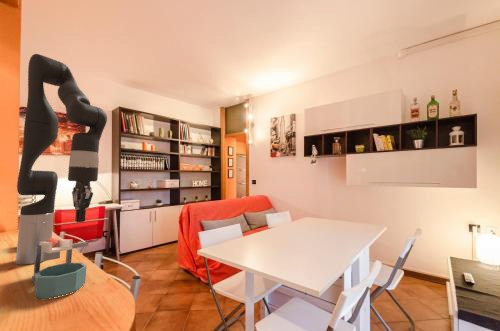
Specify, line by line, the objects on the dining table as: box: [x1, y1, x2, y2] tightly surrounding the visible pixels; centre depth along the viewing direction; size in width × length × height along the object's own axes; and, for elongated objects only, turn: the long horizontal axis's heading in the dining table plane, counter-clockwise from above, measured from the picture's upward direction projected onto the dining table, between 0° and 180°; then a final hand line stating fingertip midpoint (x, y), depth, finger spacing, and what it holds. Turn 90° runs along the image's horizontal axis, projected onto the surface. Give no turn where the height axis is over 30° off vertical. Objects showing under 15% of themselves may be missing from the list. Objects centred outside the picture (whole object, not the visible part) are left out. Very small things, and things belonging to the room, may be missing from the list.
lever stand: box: [31, 240, 74, 286], centre depth 69 cm, size 5×9×10 cm, turn 141°
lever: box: [39, 238, 89, 262], centre depth 70 cm, size 15×9×6 cm, turn 51°
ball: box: [46, 237, 58, 248], centre depth 72 cm, size 3×3×3 cm
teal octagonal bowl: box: [33, 262, 87, 300], centre depth 62 cm, size 10×10×6 cm
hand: (80, 221), depth 69 cm, fingers closed
